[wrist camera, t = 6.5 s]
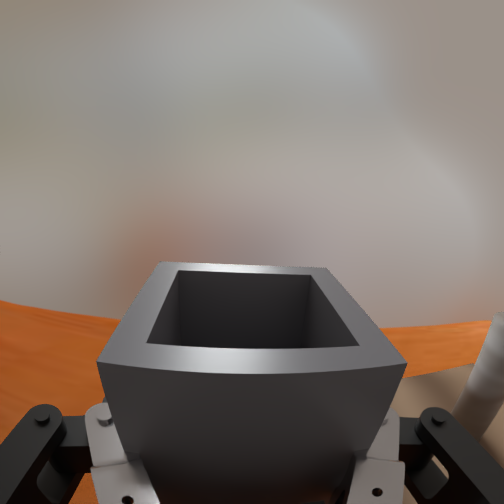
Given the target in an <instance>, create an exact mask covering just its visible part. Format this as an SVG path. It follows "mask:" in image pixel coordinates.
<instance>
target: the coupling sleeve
mask: <svg viewBox="0 0 504 504" xmlns="http://www.w3.org/2000/svg"><path fill="white" fill-rule="evenodd" d="M96 362H97V367H98V371H99V374H100V378H101V382H102V386H103V389H104V393H105V396H106V400H107V403H108V406H109V409H110V413H111V416H112V419H113V422H114V425H115V428H116V431H117V433H118V436H119V439H120V442H121V445H122V447H123V450H124V451H127V452H133V453H139V454H140V457H141V459H142V461H143V464H144V467H145V469H146V472H147V474H148V477H149V479H150V482H151V484H152V486H153V489H154V491H155V493H156V496H157V498H158V500H159V502H160V504H301V503H309V502H316V501H323V500H324V501H325V504H328V503H329V500H330V498H331V494H332V492H333V491H334V489H335V487H339V485H340V483H341V481H342V480H343V478H344V476H345V474H346V471H347V469H348V465H349V462H350V459H351V457H352V455H353V453H354V451H357V450H363V449H368V448H370V447H371V445H372V443H373V441H374V439H375V437H376V435H377V433H378V431H379V429H380V427H381V425H382V423H383V421H384V419H385V416H386V414H387V412H388V410H389V408H390V405H391V403H392V401H393V398H394V396H395V394H396V391H397V389H398V386H399V384H400V381H401V379H402V376H403V374H404V371H405V368H406V366H407V362H406V360H405V359H404V358H403V357H402V356H401V354H400V353H399V352H398V351H397V349H396V348H395V347H394V346H393V345H392V343H391V342H390V341H389V340H388V339H387V337H386V336H385V335H384V334H383V333H382V331H381V330H380V329H379V328H378V327H377V325H376V324H375V323H374V322H373V321H372V320H371V318H370V317H369V316H368V315H367V314H366V313H365V311H364V310H363V309H362V308H361V307H360V306H359V305H358V303H357V302H356V301H355V300H354V299H353V298H352V296H351V295H350V294H349V293H348V292H347V291H346V289H345V288H344V287H343V286H342V285H341V284H340V283H339V282H338V280H337V279H336V278H335V277H334V276H333V275H332V274H331V273H330V271H329V270H328V269H327V268H314V267H284V266H282V267H281V266H256V265H255V266H254V265H229V264H206V263H182V262H159V264H158V265H157V267H156V268H155V269H154V271H153V273H152V274H151V275H150V277H149V278H148V280H147V281H146V283H145V284H144V286H143V287H142V289H141V290H140V292H139V293H138V295H137V296H136V298H135V300H134V301H133V303H132V304H131V306H130V307H129V309H128V310H127V312H126V314H125V315H124V317H123V318H122V320H121V321H120V323H119V325H118V326H117V328H116V329H115V331H114V333H113V334H112V336H111V337H110V339H109V341H108V342H107V344H106V346H105V347H104V349H103V351H102V352H101V354H100V356H99V357H98V359H97V361H96Z"/></svg>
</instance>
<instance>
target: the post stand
mask: <svg viewBox="0 0 504 504" xmlns="http://www.w3.org/2000/svg"><path fill="white" fill-rule="evenodd" d="M390 407H391V408H392V409H394V410H395V411H396V412H397V414H398V415H399V417H412V418H419V417H420V415H421V413H422V412H423V410H425V409H426V408H429V407H439V408H442V409H445V410H446V411H448V412H449V413H450V414H451V415H452V416H453V417H454V418H455V419H456V420H457V421H458V422H459V423H460V424H461V425H462V426H463V427H464V428H465V429H466V430H467V431H468V432H469V433H470V434H471V435H472V436H473V437H474V438H475V439H476V441H477V442H478V443H479V444H480V445H481V446H482V447H483V448H484V449H485V450H486V451H487V452H488V453H489V454H490V455H491V456H492V457H493V458H494V459H495V460H496V462H497V463H498V464H499V465H500V466H501V467H502V468H503V469H504V312H498V313H496V314H495V315H494V317H493V320H492V323H491V325H490V328H489V331H488V334H487V336H486V339H485V341H484V344H483V346H482V349H481V351H480V354H479V356H478V358H477V361H476V363H475V365H474V364H473V363H472V364H468V365H464V366H460V367H456V368H452V369H447V370H443V371H438V372H434V373H429V374H424V375H419V376H413V377H408V378H402V379H401V381H400V384H399V386H398V389H397V391H396V394H395V396H394V398H393V401H392V403H391V405H390ZM432 460H433V461H434V462H435V463H436V465H437V466H438V467H439V468H440V470H441V471H442V472H443V473H444V475H445V476H446V477H447V478H448V477H449V476H448V472H447V470H446V469H445V468H444V466H443V465H442V464H441V463H440V462H439V460H438V459H437V458H436V457H435V455H434V457H433V458H432ZM402 504H418V503H417V502H416V501H415V499H414V498H413V496H412V495H411V493H410V492H409V490H408V489H407V488H406V486H405V485H404V490H403V501H402Z"/></svg>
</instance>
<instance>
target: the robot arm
mask: <svg viewBox="0 0 504 504" xmlns="http://www.w3.org/2000/svg"><path fill="white" fill-rule="evenodd" d="M434 455H435V457H436V458H437V459H438V460H439V462H440V463H441V464H442V465H443V466H444V468H445V469H446V470H447V472H448V476H449V477H448V478H447V477H446V476H445V475H444V473H443V472H442V471H441V470H440V468H439V467H438V466H437V465H436V463H435V462H434V461H433V460H432V458H433V457H434ZM85 473H91V475H92V479H93V483H94V487H95V491H96V495H97V498H98V502H99V504H160V502H159V500H158V498H157V496H156V493H155V491H154V489H153V486H152V484H151V482H150V479H149V477H148V474H147V472H146V469H145V467H144V464H143V461H142V459H141V457H140V454H139V453H133V452H127V451H124V450H123V447H122V445H121V442H120V439H119V436H118V433H117V431H116V428H115V425H114V422H113V419H112V416H111V413H110V409H109V406H108V403H107V400H106V396H105V397H104V399H103V402H102V403H100V404H96V405H94V406H92V407H91V408H90V409H89V410H88V411H87V412H86V414H85V415H83V416H62V414H61V412H60V410H59V409H58V408H56V407H55V406H53V405H49V404H41V405H37V406H35V407H33V408H31V409H30V410H29V411H28V412H27V413H26V415H25V416H24V417H23V418H22V419H21V421H20V422H19V423H18V424H17V425H16V426H15V428H14V429H13V430H12V431H11V433H10V434H9V435H8V436H7V437H6V439H5V440H4V441H3V442H2V444H1V445H0V504H68V503H69V502H70V500H71V498H72V496H73V494H74V492H75V490H76V488H77V487H78V485H79V483H80V481H81V479H82V477H83V476H84V474H85ZM404 485H405V486H406V488H407V489H408V490H409V492H410V493H411V495H412V496H413V498H414V499H415V501H416V502H417V503H418V504H504V469H503V468H502V467H501V466H500V465H499V464H498V463H497V462H496V460H495V459H494V458H493V457H492V456H491V455H490V454H489V453H488V452H487V451H486V450H485V449H484V448H483V447H482V446H481V445H480V444H479V443H478V442H477V441H476V439H475V438H474V437H473V436H472V435H471V434H470V433H469V432H468V431H467V430H466V429H465V428H464V427H463V426H462V425H461V424H460V423H459V422H458V421H457V420H456V419H455V418H454V417H453V416H452V415H451V414H450V413H449V412H448V411H446V410H445V409H442V408H439V407H429V408H426V409H425V410H423V412H422V413H421V415H420V417H419V418H412V417H399V415H398V414H397V412H396V411H395V410H394V409H392V408H391V407H390V408H389V410H388V412H387V414H386V416H385V419H384V421H383V423H382V425H381V427H380V429H379V431H378V433H377V435H376V437H375V439H374V441H373V443H372V445H371V447H370V448H368V449H363V450H357V451H354V453H353V455H352V457H351V459H350V462H349V465H348V469H347V471H346V474H345V476H344V478H343V480H342V481H341V483H340V485H339V487H335V489H334V491H333V492H332V494H331V498H330V500H329V503H328V504H402V501H403V490H404ZM301 504H325V501H324V500H323V501H316V502H309V503H301Z"/></svg>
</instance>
